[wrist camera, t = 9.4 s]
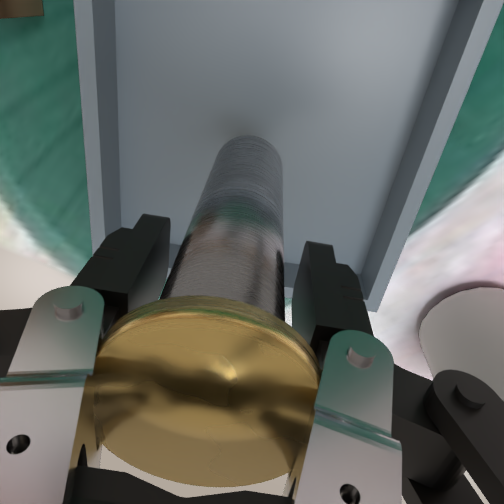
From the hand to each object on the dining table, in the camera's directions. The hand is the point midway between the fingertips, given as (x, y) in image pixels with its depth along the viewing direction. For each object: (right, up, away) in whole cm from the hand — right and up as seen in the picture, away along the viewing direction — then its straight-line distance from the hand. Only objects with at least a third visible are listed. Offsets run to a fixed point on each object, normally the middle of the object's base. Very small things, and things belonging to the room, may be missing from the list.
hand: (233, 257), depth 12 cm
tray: (+1, +7, +11) cm, 14 cm away
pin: (0, +4, +6) cm, 7 cm away
